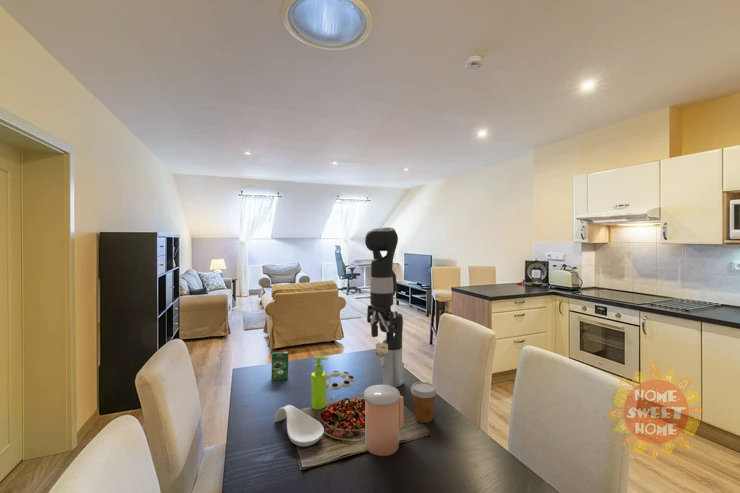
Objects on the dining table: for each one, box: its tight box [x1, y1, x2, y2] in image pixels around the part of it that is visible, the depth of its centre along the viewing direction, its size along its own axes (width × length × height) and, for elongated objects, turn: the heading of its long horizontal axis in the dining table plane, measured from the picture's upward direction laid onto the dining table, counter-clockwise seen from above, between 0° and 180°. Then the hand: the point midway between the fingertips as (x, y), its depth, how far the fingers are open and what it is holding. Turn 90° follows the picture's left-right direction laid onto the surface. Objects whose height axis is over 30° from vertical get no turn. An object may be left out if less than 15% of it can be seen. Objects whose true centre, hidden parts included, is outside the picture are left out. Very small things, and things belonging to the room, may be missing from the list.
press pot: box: [363, 384, 405, 457], centre depth 103 cm, size 14×12×17 cm
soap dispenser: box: [310, 355, 329, 410], centre depth 128 cm, size 6×7×20 cm
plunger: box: [375, 342, 388, 369], centre depth 103 cm, size 4×4×7 cm
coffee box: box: [271, 351, 289, 382], centre depth 153 cm, size 8×3×13 cm, turn 103°
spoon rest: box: [274, 404, 325, 447], centre depth 109 cm, size 24×12×7 cm, turn 45°
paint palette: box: [325, 370, 356, 390], centre depth 151 cm, size 20×20×2 cm
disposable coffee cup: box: [410, 381, 437, 424], centre depth 118 cm, size 10×10×12 cm
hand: (381, 339), depth 103 cm, fingers open, 8 cm apart
